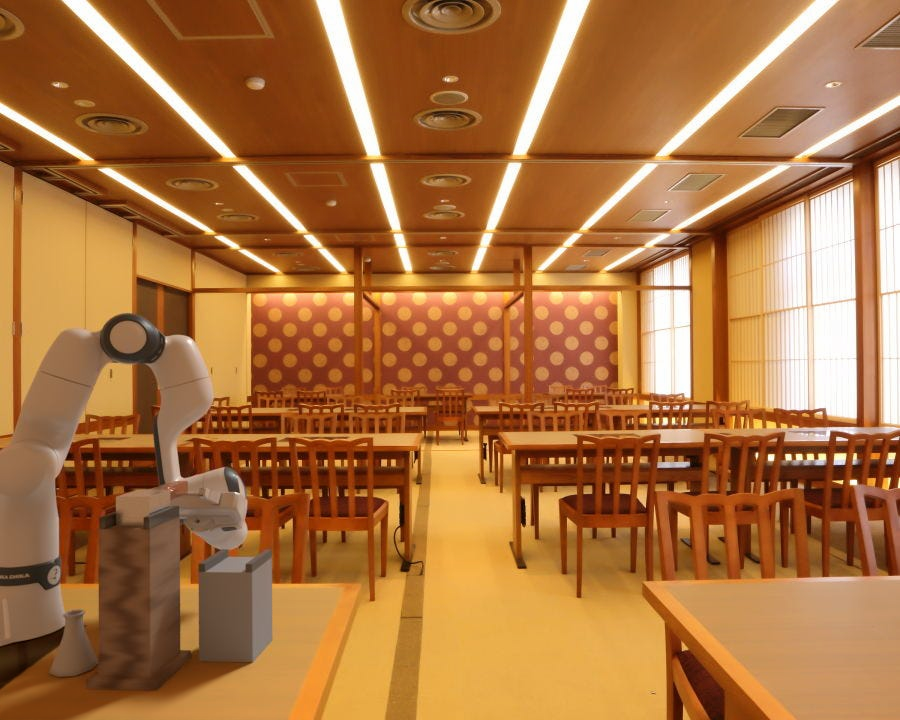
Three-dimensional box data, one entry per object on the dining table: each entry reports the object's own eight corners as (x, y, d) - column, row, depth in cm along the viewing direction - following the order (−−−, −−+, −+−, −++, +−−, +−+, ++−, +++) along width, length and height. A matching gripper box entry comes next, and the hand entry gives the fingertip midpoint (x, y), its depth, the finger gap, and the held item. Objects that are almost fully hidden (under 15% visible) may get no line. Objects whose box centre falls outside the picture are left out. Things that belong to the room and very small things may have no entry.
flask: (76, 680, 110) (76, 621, 111) (40, 676, 112) (40, 618, 112) (106, 661, 117) (106, 606, 118) (72, 658, 119) (72, 604, 119)
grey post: (199, 661, 117) (198, 563, 117) (222, 638, 127) (222, 549, 127) (252, 662, 116) (251, 564, 117) (272, 639, 126) (271, 549, 127)
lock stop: (115, 525, 111) (115, 496, 111) (167, 506, 128) (167, 480, 128) (149, 526, 111) (149, 496, 111) (196, 506, 128) (196, 480, 128)
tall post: (86, 688, 107) (86, 518, 108) (128, 657, 119) (127, 504, 120) (155, 690, 106) (155, 518, 107) (191, 658, 118) (190, 504, 119)
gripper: (163, 499, 141) (132, 476, 129) (255, 500, 139) (231, 476, 128) (156, 528, 138) (123, 506, 126) (249, 529, 136) (225, 507, 124)
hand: (178, 491), depth 127 cm, fingers open, 8 cm apart
